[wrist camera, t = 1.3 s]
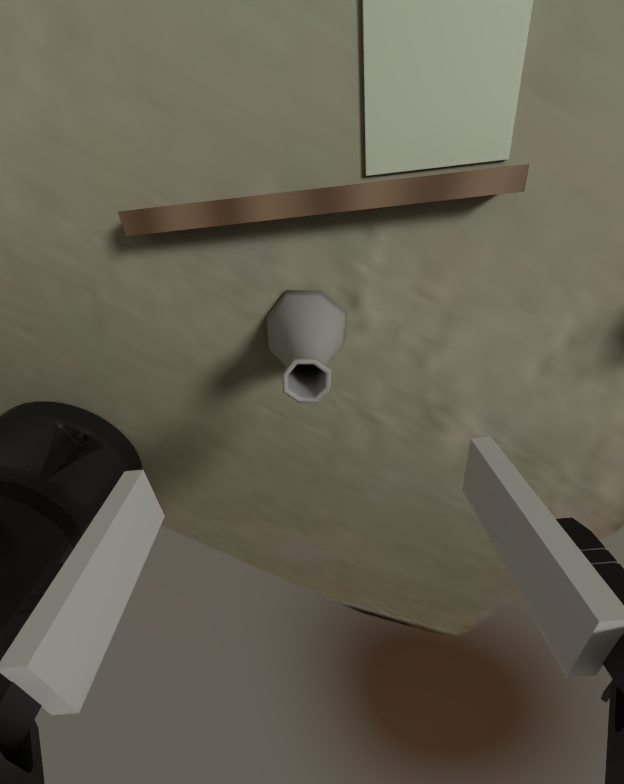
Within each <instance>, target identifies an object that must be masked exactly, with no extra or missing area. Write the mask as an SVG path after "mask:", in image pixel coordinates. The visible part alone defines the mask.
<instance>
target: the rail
mask: <svg viewBox="0 0 624 784" xmlns="http://www.w3.org/2000/svg"><path fill="white" fill-rule="evenodd" d="M528 168H529V164H527V165H518V166H509V167H501V168H492V169H483V170H475V171H466V172H458V173H449V174H440V175H432V176H423V177H414V178H406V179H397V180H388V181H380V182H371V183H363V184H354V185H345V186H337V187H328V188H319V189H311V190H302V191H294V192H285V193H276V194H268V195H259V196H250V197H242V198H233V199H225V200H216V201H207V202H199V203H190V204H181V205H173V206H164V207H156V208H147V209H138V210H130V211H121V212H118V214H119V217H120V220H121V223H122V226H123V229H124V231H125V234H126V236H134V235H143V234H152V233H160V232H169V231H178V230H187V229H196V228H204V227H213V226H222V225H231V224H240V223H249V222H257V221H266V220H275V219H284V218H293V217H302V216H310V215H319V214H328V213H337V212H346V211H355V210H363V209H372V208H381V207H390V206H399V205H408V204H416V203H425V202H434V201H443V200H452V199H461V198H469V197H478V196H487V195H496V194H505V193H514V192H522V191H524V190H525V185H526V179H527V174H528Z"/></svg>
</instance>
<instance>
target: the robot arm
mask: <svg viewBox="0 0 624 784" xmlns="http://www.w3.org/2000/svg"><path fill="white" fill-rule="evenodd" d="M463 491H464V493H465V495H466V497H467V498H468V500H469V502H470V504H471V506H472V508H473V509H474V511H475V513H476V515H477V517H478V518H479V520H480V522H481V524H482V526H483V527H484V529H485V531H486V533H487V535H488V537H489V538H490V540H491V542H492V544H493V546H494V547H495V549H496V551H497V553H498V555H499V557H500V558H501V560H502V562H503V564H504V566H505V567H506V569H507V571H508V573H509V575H510V577H511V578H512V580H513V582H514V584H515V586H516V587H517V589H518V591H519V593H520V595H521V597H522V598H523V600H524V602H525V604H526V606H527V607H528V609H529V611H530V613H531V615H532V616H533V618H534V620H535V622H536V624H537V626H538V627H539V629H540V631H541V633H542V635H543V636H544V638H545V640H546V642H547V644H548V645H549V647H550V649H551V651H552V653H553V654H554V656H555V658H556V660H557V662H558V664H559V665H560V667H561V669H562V671H563V673H564V675H565V676H566V677H579V676H593V675H596V674H597V673H598V671H599V670H600V669H601V667H602V665H604V666H605V668H606V669H607V671H608V672H609V674H610V676H611V677H612V678H613V680H612V681H611V683H610V684H609V685H608V687H607V688H606V689H605V691H604V693H603V695H602V697H601V699H602V700H603V701H605V702H607V701H608V699H609V698H610V707H609V723H608V740H607V758H606V774H605V784H624V569H623V568H622V566H621V565H620V564H617V561H616V559H614V557H613V556H612V555H611V554H610V552H609V551H608V550H605V547H604V546H603V544H602V543H601V542H600V541H599V540H598V539H597V537H596V536H595V535H594V534H593V533H592V532H591V531H590V530H589V529H587V528H586V527H585V526H583V525H582V524H580V523H579V522H578V521H576V520H575V519H573V518H562V519H555V518H554V517H553V515H552V514H551V513H550V511H549V510H548V509H547V508H546V506H545V505H544V504H543V503H542V501H541V500H540V499H539V498H538V496H537V495H536V494H535V492H534V491H533V490H532V489H531V487H530V486H529V485H528V484H527V482H526V481H525V480H524V479H523V477H522V476H521V475H520V473H519V472H518V471H517V470H516V468H515V467H514V466H513V465H512V463H511V462H510V461H509V460H508V458H507V457H506V456H505V455H504V453H503V452H502V451H501V449H500V448H499V447H498V446H497V444H496V443H495V442H494V441H493V439H492V438H491V437H484V438H474V439H471V441H470V447H469V453H468V459H467V466H466V472H465V478H464V484H463ZM164 517H165V516H164V514H163V512H162V509H161V507H160V505H159V503H158V501H157V499H156V496H155V494H154V492H153V490H152V488H151V486H150V483H149V481H148V479H147V477H146V475H145V473H144V470H142V466H141V462H140V459H139V456H138V454H137V452H136V450H135V449H134V447H133V446H132V444H131V443H130V441H129V440H128V439H127V438H126V437H125V436H124V435H123V434H122V433H121V432H120V431H119V430H118V429H117V428H115V427H114V426H113V425H111V424H110V423H109V422H107V421H106V420H104V419H102V418H101V417H99V416H97V415H95V414H93V413H91V412H89V411H86V410H84V409H81V408H78V407H75V406H71V405H67V404H62V403H56V402H32V403H26V404H22V405H19V406H16V407H14V408H12V409H10V410H8V411H7V412H5V413H4V414H3V415H1V416H0V784H44V776H43V766H42V757H41V748H40V739H39V731H38V726H37V724H36V721H35V720H34V719H35V717H36V715H37V714H38V712H39V710H40V708H41V707H42V708H44V709H45V710H46V711H47V712H49V713H50V714H51V715H60V714H74V713H79V712H80V709H81V707H82V705H83V703H84V700H85V698H86V696H87V693H88V691H89V688H90V686H91V684H92V682H93V679H94V677H95V675H96V673H97V670H98V668H99V666H100V664H101V661H102V659H103V657H104V654H105V652H106V650H107V647H108V645H109V643H110V640H111V638H112V636H113V634H114V631H115V629H116V627H117V625H118V622H119V620H120V618H121V615H122V613H123V611H124V608H125V606H126V604H127V601H128V599H129V597H130V595H131V592H132V590H133V588H134V586H135V583H136V581H137V579H138V576H139V574H140V572H141V570H142V567H143V565H144V562H145V560H146V558H147V556H148V553H149V551H150V549H151V547H152V544H153V542H154V540H155V537H156V535H157V533H158V531H159V528H160V526H161V524H162V521H163V519H164Z"/></svg>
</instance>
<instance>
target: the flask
mask: <svg viewBox="0 0 624 784" xmlns="http://www.w3.org/2000/svg"><path fill="white" fill-rule="evenodd" d="M266 320H267V345H268V349H269V350H270V351H271V352H272V353H273V354H274V355H275V356H276V357H277V358H278V359H279V360H280V361H281V362H282V364H283V365H284V366H285V367H286V369H285V370H284V372H283V393H285V394H287V395H288V396H290V397H291V398H293V399H294V400H296V401H297V402H305V403H318V402H319V401H320V400H321V399H322V398H323V397H324V396H325V394H326V393H327V392H328V391H329V390H330V385H331V369H330V368H329V367H327V364H328V363H329V361H330V360H331V359H332V357H333V356H334V355H335V353H336V352H337V351H338V350H339V349H340V348H341V347H342V345H343V344H344V337H345V324H346V311H345V310H343V309H342V308H341V307H340V306H338V305H337V304H336V303H335V302H333V301H332V300H331V299H330V298H328V297H327V296H326V295H325V294H324V293H322V292H321V291H294V290H286V291H285V292H284V294H283V295H282V297H281V298H280V299H279V301H278V302H277V303H276V305H275V306H274V307H273V309H272V310H271V311H270V313H269V314H268V315H267V317H266Z"/></svg>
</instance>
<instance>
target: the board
mask: <svg viewBox="0 0 624 784" xmlns="http://www.w3.org/2000/svg"><path fill="white" fill-rule="evenodd" d="M532 5H533V0H362V12H363V66H364V121H365V175H366V176H370V175H378V174H387V173H396V172H404V171H413V170H421V169H430V168H438V167H447V166H456V165H464V164H473V163H481V162H490V161H498V160H507V159H509V154H510V147H511V141H512V134H513V128H514V122H515V115H516V109H517V102H518V96H519V89H520V83H521V76H522V70H523V63H524V57H525V51H526V44H527V38H528V31H529V25H530V18H531V12H532Z"/></svg>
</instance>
